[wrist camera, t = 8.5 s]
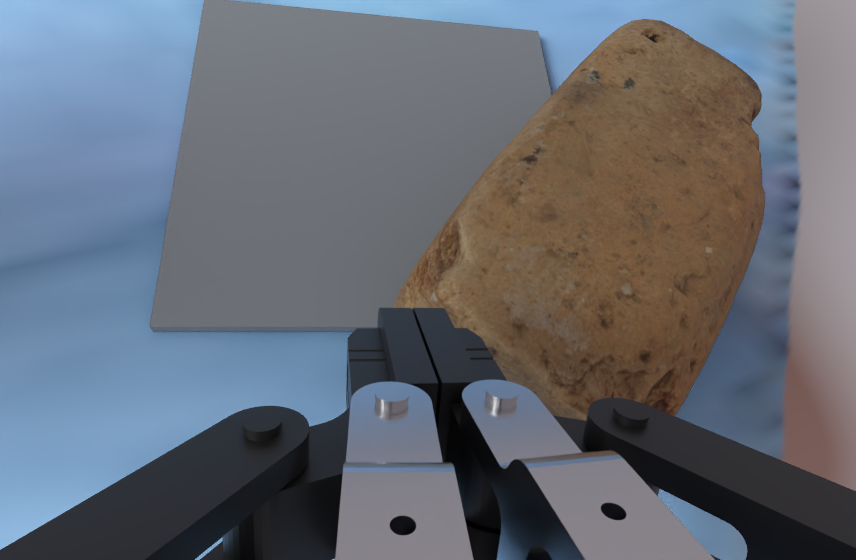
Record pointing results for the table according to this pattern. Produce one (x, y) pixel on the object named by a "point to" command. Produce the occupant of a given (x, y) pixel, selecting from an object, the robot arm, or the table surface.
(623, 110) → the rough sandstone rock
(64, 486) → the table surface
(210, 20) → the mat
